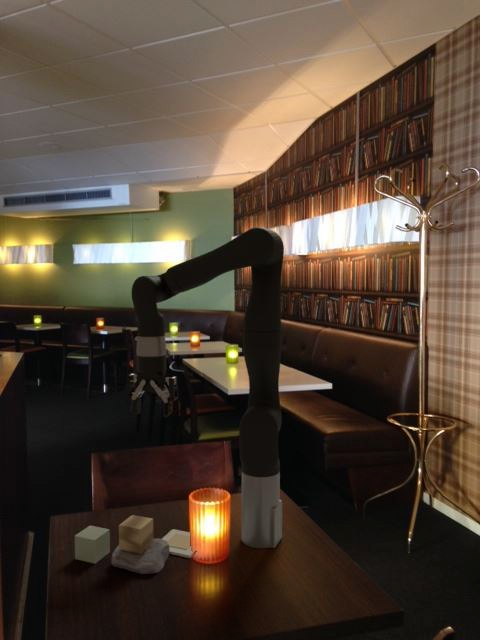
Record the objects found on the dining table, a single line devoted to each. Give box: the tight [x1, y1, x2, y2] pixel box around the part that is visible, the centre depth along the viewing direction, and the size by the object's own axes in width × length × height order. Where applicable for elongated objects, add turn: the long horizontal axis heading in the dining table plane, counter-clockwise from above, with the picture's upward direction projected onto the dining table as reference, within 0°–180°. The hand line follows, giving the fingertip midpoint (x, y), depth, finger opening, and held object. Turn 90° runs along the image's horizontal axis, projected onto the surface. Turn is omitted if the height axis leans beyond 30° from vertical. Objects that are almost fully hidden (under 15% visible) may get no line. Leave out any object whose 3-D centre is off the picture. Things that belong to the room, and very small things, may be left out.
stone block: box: [110, 537, 170, 575], centre depth 118 cm, size 12×5×10 cm
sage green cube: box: [74, 525, 111, 564], centre depth 121 cm, size 6×6×6 cm
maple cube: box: [118, 514, 154, 554], centre depth 118 cm, size 6×6×6 cm
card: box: [161, 528, 195, 559], centre depth 126 cm, size 10×10×1 cm
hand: (152, 415), depth 137 cm, fingers open, 8 cm apart
